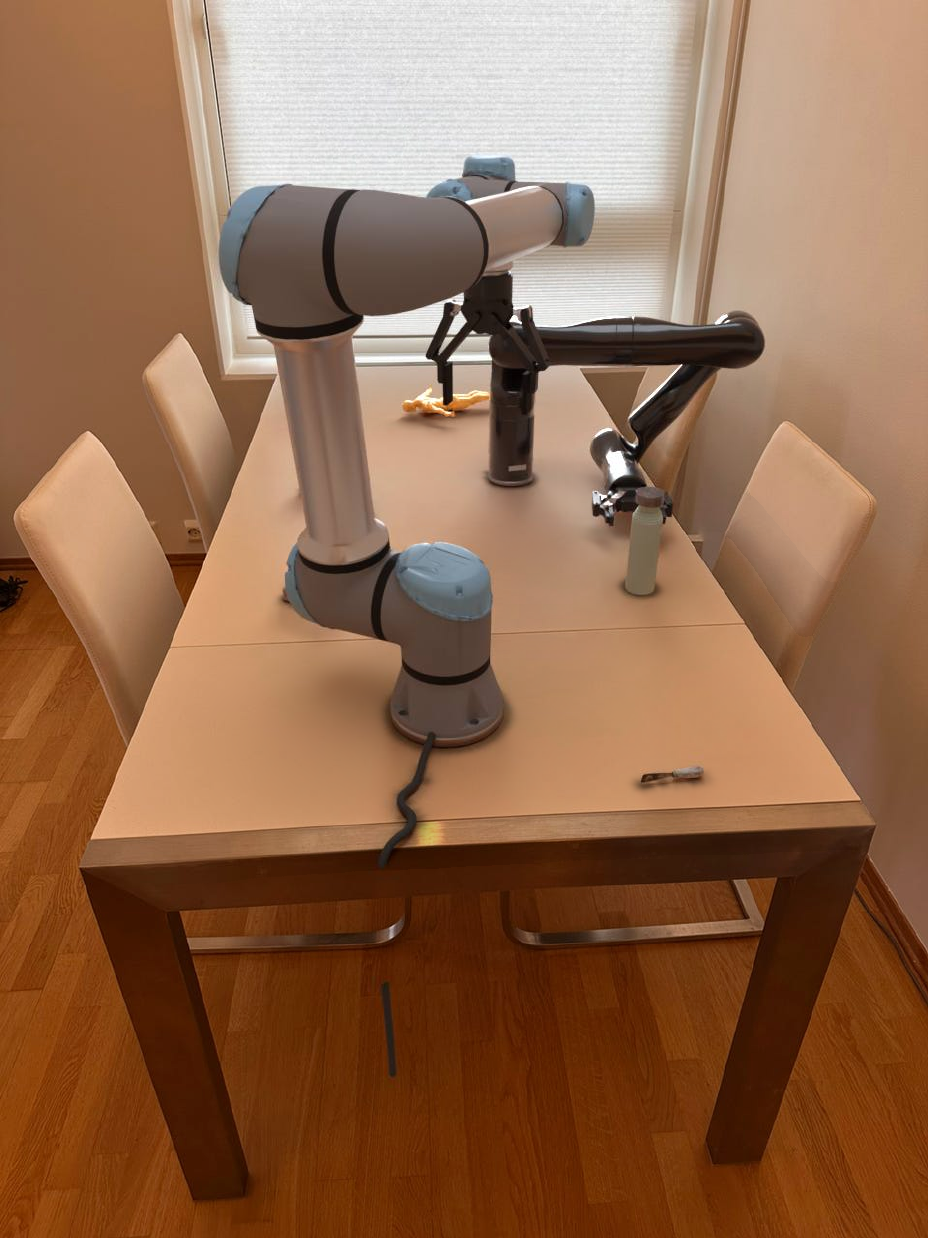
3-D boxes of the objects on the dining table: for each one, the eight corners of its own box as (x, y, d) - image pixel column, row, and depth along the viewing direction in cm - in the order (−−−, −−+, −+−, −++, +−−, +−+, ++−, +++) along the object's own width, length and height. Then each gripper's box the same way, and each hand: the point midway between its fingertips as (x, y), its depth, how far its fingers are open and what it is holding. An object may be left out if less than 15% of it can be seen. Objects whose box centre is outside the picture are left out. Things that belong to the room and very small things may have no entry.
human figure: (395, 413, 223) (394, 398, 221) (438, 390, 237) (438, 375, 235) (462, 429, 215) (462, 413, 213) (502, 404, 229) (503, 388, 227)
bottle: (656, 583, 151) (668, 490, 142) (651, 597, 147) (663, 502, 138) (628, 578, 152) (637, 486, 143) (622, 592, 148) (631, 498, 139)
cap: (665, 498, 142) (666, 488, 141) (660, 509, 139) (662, 499, 138) (638, 494, 143) (639, 484, 142) (633, 505, 140) (634, 495, 139)
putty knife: (703, 777, 109) (705, 767, 109) (642, 788, 108) (644, 777, 107) (700, 772, 110) (702, 762, 109) (639, 782, 109) (640, 771, 108)
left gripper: (574, 271, 134) (566, 408, 145) (421, 261, 142) (425, 392, 153) (561, 280, 128) (554, 423, 139) (402, 269, 136) (407, 406, 147)
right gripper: (588, 465, 168) (597, 501, 154) (664, 466, 167) (680, 502, 154) (586, 502, 172) (594, 540, 158) (660, 502, 171) (675, 541, 157)
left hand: (486, 407), depth 146 cm, fingers open, 13 cm apart
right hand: (636, 521), depth 156 cm, fingers open, 8 cm apart
